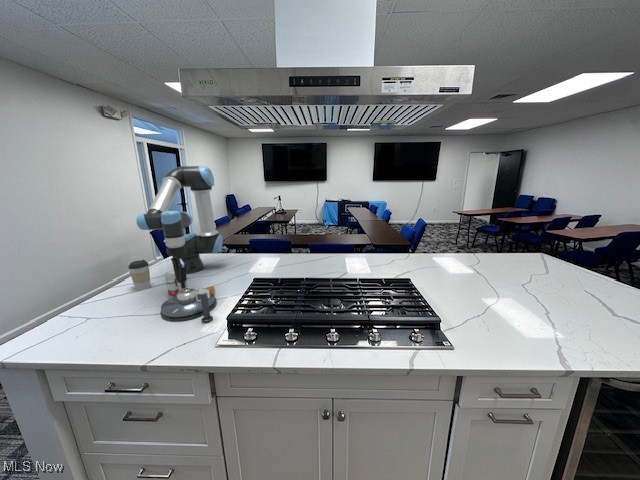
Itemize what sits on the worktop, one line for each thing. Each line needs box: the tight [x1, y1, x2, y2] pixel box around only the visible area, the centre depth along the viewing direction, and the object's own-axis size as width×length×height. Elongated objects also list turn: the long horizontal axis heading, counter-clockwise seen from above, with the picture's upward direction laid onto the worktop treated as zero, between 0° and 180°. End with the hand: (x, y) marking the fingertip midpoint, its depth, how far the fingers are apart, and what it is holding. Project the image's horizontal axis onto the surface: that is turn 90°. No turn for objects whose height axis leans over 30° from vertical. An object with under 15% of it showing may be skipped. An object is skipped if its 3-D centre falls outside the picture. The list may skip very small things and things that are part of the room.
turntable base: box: [160, 297, 218, 323], centre depth 115 cm, size 23×23×1 cm
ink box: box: [164, 268, 188, 296], centre depth 130 cm, size 9×5×12 cm, turn 167°
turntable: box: [160, 285, 216, 318], centre depth 114 cm, size 22×22×6 cm
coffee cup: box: [128, 259, 151, 291], centre depth 135 cm, size 9×9×15 cm
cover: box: [177, 287, 198, 305], centre depth 114 cm, size 8×8×6 cm
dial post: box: [196, 288, 214, 324], centre depth 104 cm, size 5×5×13 cm
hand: (183, 293), depth 118 cm, fingers closed
